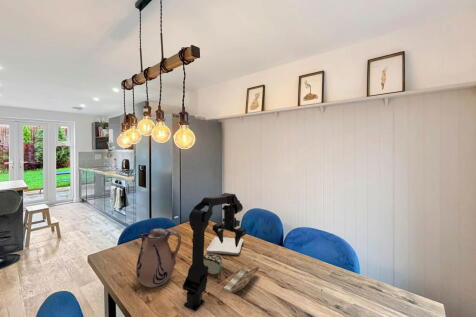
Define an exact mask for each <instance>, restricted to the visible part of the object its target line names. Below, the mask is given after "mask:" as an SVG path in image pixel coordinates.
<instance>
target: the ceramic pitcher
mask: <svg viewBox="0 0 476 317" xmlns="http://www.w3.org/2000/svg"><path fill="white" fill-rule="evenodd" d="M171 236H176V237H177V245H176V247H175V250H174V251H172V249H171V246H170V244H169V238H170V237H171ZM140 237H141V244H140V249H139V254H138V258H137V261H136V267H135V269H136V271H135V273H136V274H135V275H136V278H137V280H138V281H139V283H140V284H142V285H143V286H144V287H148V288H156V287H158V286H162V285H164V284H165V283H166V282H167V281H168V280H169V279H170V278H171V276H172V275H173V273H174V269H175V266H176V263H177V261H176V260H177V259H176V257H177V255H178V253H179V251H180V247H181V244H182V235H181V234H180V233H179V232H178V231H170V230H169V229H167V228H163V227H162V228H153V229H150V230H149V232H143V233H141V234H140Z"/></svg>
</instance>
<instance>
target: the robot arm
mask: <svg viewBox="0 0 476 317" xmlns="http://www.w3.org/2000/svg"><path fill="white" fill-rule="evenodd" d="M238 199H239V198H238V197H237V194H235V193H228V192H224V193H222V194H221V195H219V196H218V195H217V196H209V197H208V196H205V197H203V198H202V200H201V201H200V202H198V203H197V204H196V205H194V207H193V209H192V210H191V211H190V213H189V214H188V220H189V223H188V224H189V226H190V228H191V230H192V250H191V251H192V255H191V256H192V257H191V265H190V267H189V269H188V270H187V276H186V278H185V279H184V282H183V284H182V290H184V291H186V302H185V303H183V306H184V307H186V308H187V309H188V310H189V309H190V310H192V311H194V312H196V311H197V310H198V309H200V307H202V305H203V304H204V303H205V300H204V299H203V293H204V292H205V291H206V289H207V284H208V279H209V277H208V266H205V265H204V255H205V232H206V229H207V228H208V226H209V223H210V222H209V221H210V219H211V217H212V215H213V209H214V207H215V206H220V205H224V206H223V207H222V208H221V210H222V211H223V218H222V222H223V223H221V222H216V223H215V224H214V225H212V229H211V230H212V231H214V233H215V234H216V237H218V238H219V240H220V242H221V243H223V237H224V232H225V231H226V232H230V233H234V235H235V236H234V238H235V246H236V247H237V246H238V243H239V241H240V239H242V238H243V237H244V236H246V235H247V234H248V230H247V228H244V227H240V223H241V220H237V218H236V217H235V215H237V214H238V213H241V212H242V211H243V209H244V207H243V204H242V203H241V200H238ZM205 207H208V209H207V210H205V211H204V210H203V209H204V208H205ZM237 227H238V228H237Z"/></svg>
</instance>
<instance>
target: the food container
mask: <svg viewBox="0 0 476 317" xmlns="http://www.w3.org/2000/svg"><path fill="white" fill-rule="evenodd" d="M223 263H224V262H223V257H222V256H221V254H219V253H207V254H204V265H205V266H208V276H207V278H210V279H214V280H215V281H219V280H220V279H221V273H222V272H221V271H222V266H223Z"/></svg>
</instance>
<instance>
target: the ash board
mask: <svg viewBox="0 0 476 317" xmlns="http://www.w3.org/2000/svg"><path fill="white" fill-rule="evenodd" d="M248 272H249V270H247V269H242V268H241V269H240V270H239V271H238V273H236V274H235V276H234V277H232V278H231V280H229V281H228V282H227V284H226V285H225V286H224V287H223V290H224V291H225V292H228V293H233V292H232V290H233V289H234V288H235V287H236V285H237V284H238V283H239V282H240V281H241V280H242V279H243V278H244V276H245V275H246V274H247V273H248Z"/></svg>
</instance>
